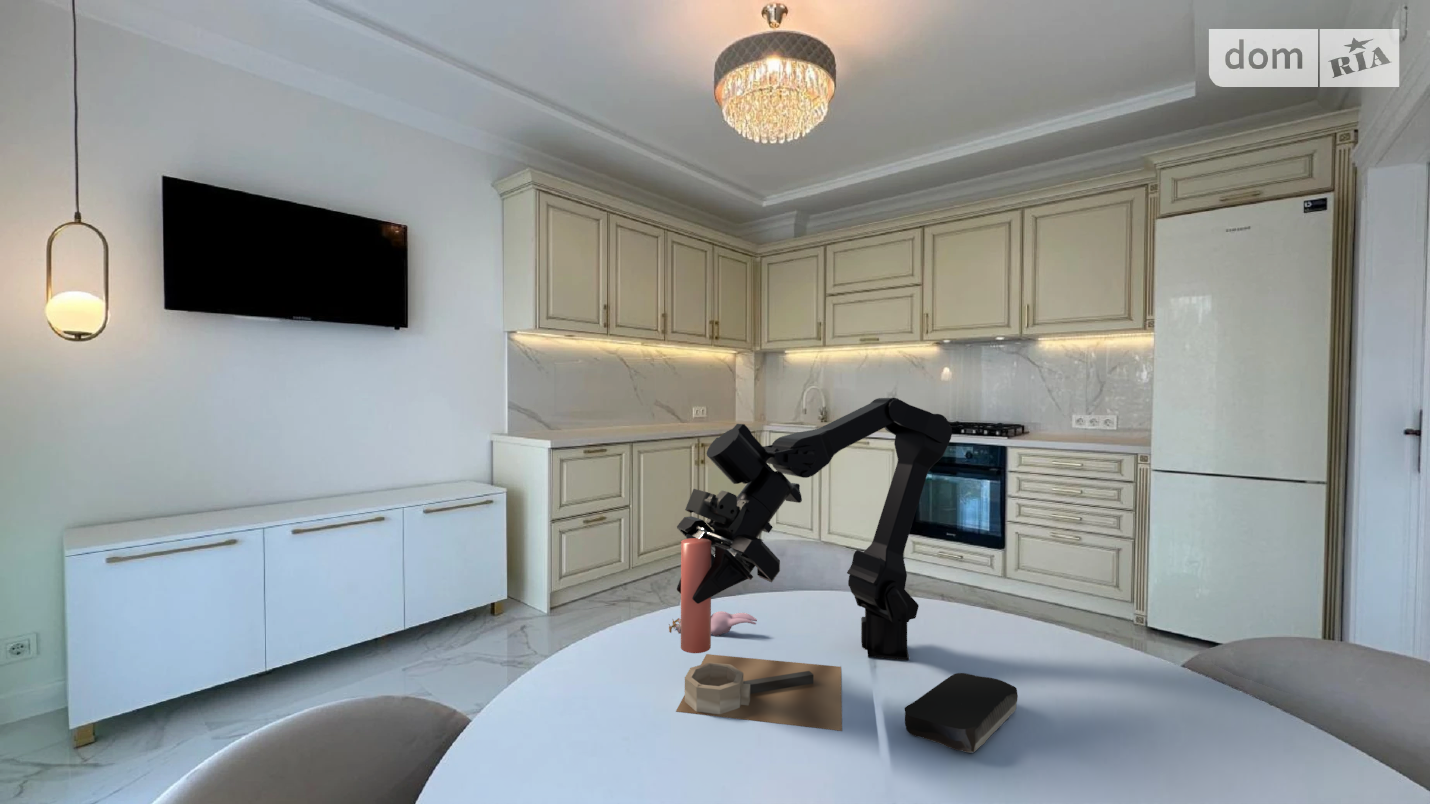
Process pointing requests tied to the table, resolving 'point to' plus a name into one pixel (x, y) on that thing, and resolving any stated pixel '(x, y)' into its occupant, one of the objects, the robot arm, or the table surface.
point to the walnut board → (765, 691)
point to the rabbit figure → (721, 622)
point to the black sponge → (961, 711)
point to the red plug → (693, 614)
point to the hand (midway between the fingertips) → (686, 596)
